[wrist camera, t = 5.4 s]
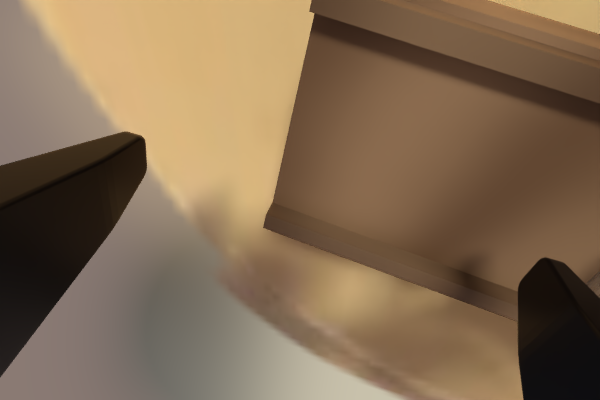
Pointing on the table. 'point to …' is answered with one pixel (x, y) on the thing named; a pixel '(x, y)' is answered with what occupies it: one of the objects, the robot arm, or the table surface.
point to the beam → (445, 145)
